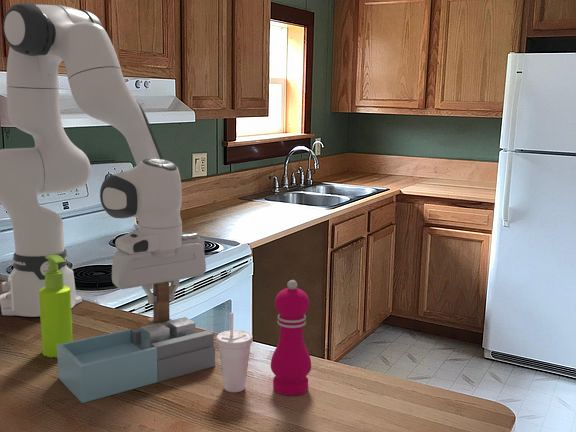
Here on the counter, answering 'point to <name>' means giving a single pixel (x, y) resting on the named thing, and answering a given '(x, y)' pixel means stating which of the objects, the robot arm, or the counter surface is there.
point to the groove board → (181, 353)
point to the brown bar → (160, 304)
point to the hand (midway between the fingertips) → (161, 301)
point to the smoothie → (234, 357)
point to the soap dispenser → (55, 309)
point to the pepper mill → (291, 342)
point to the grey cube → (181, 327)
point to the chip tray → (105, 365)
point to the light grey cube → (154, 334)
